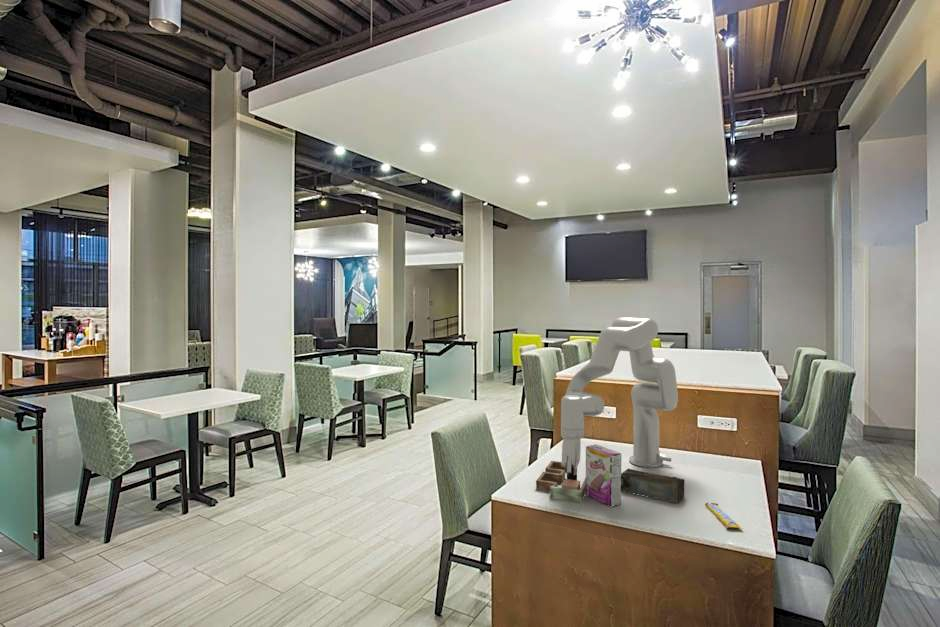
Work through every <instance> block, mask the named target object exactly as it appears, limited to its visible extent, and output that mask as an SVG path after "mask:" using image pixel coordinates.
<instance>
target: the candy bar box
mask: <svg viewBox="0 0 940 627" xmlns="http://www.w3.org/2000/svg"><path fill="white" fill-rule="evenodd" d="M621 473H622V453H621V452H619V451H615V450H613V449H609V448H607V447H605V446H602V445H598V444H591V445H587V446H585V478H586V493H585V496H586V495H587V497H589V498H591V499H593V500H595V499H596V500H595V501H597V500H598V501H597V502H599V501H600V503H602V502H603V503H602V504H604V503H605V504H604V505H606V504H607V505H606V506H608V505H609V506H608V507H610V506H613V505H616V506H618V505H617V504H619V505H621V504H622V491H621ZM620 503H621V504H620ZM613 507H614V506H613Z"/></svg>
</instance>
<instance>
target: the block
mask: <svg viewBox="0 0 940 627" xmlns="http://www.w3.org/2000/svg"><path fill="white" fill-rule="evenodd" d="M561 488H568V489H575V490H580V488H581V480H578V479H577V480H570V479H567V478H565V480H564V481H563V483H562V484H561Z"/></svg>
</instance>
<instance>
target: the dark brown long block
mask: <svg viewBox="0 0 940 627" xmlns="http://www.w3.org/2000/svg"><path fill="white" fill-rule="evenodd" d="M624 491H625V492H626V493H628V492H630V493H629V494H632V493H635V494H634V495H636V494H639V495H638V496H641V495H644V496H643V497H645V496H648V497H647V498H650V497H651V498H650V499H655V500H659V501H660V500H661V501H664V502H670V503H673V504H680V502H681V501H682V500H683V499H684V498H685V479H684V478H680V477H675V476H668V475H662V474H658V473H652V472H646V471H643V470H637V469H632V468H627V469H625V470H624V471H623V472H621V492H624Z"/></svg>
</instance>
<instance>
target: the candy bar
mask: <svg viewBox="0 0 940 627" xmlns="http://www.w3.org/2000/svg"><path fill="white" fill-rule="evenodd" d="M704 505H705V507H706V508H707V510H709V511H710V512H711V514H712V515H715V516H716V517H715V516H714V517H715V518H716V519H717V520H718V522H720V523H721V524H722V525H723V526H724V527H725V528H726V529H740V530H743V529H744V528H741V526H740V525H739V524H738V523H737V522H736V521H735V520H734V519H733V518H731V516H729V515H728V514H727V513H726V512H725V511H724V510H723V509H722V508H721V507H720V506H719V503H716V502H711V503H709V502H705V504H704Z"/></svg>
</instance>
